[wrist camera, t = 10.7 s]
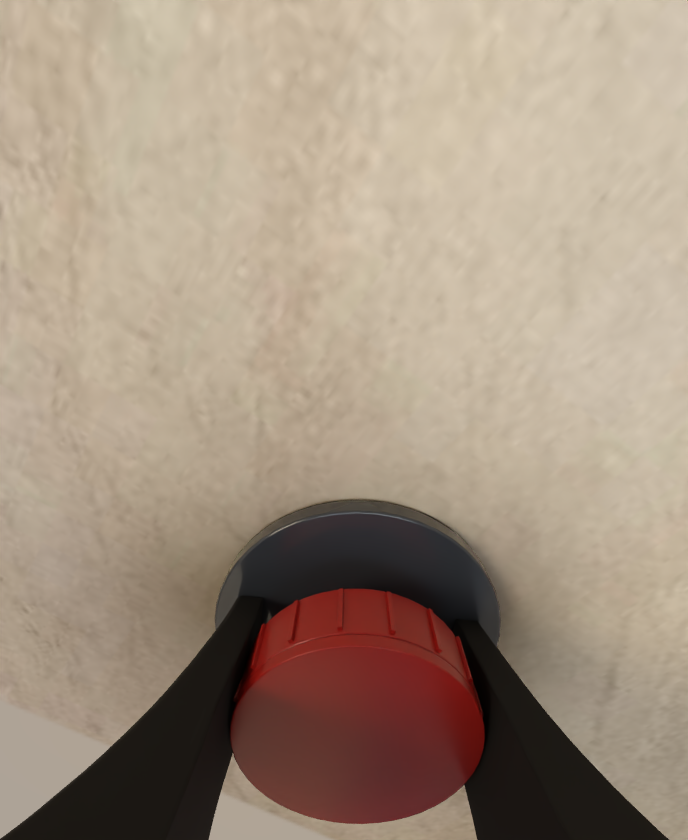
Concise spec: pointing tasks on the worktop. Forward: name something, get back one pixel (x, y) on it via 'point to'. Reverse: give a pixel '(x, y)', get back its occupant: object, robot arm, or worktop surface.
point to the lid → (357, 709)
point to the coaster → (363, 562)
